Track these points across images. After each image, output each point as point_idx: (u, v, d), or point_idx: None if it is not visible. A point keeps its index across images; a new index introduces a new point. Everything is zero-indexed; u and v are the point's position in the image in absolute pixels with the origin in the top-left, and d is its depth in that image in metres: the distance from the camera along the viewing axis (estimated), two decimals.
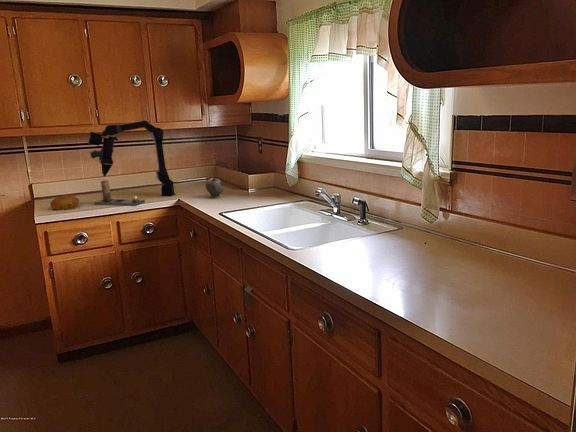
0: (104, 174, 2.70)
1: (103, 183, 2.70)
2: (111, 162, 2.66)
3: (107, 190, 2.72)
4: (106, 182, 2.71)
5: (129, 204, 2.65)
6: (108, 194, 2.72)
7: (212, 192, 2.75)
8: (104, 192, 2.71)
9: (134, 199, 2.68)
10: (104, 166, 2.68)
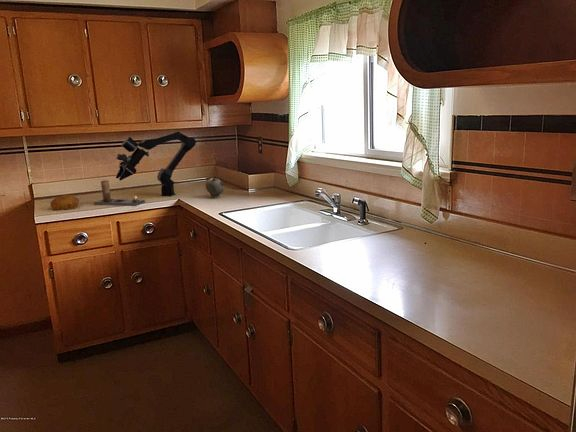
0: (120, 178, 2.71)
1: (103, 183, 2.70)
2: (134, 171, 2.70)
3: (107, 190, 2.72)
4: (106, 182, 2.71)
5: (129, 204, 2.65)
6: (108, 194, 2.72)
7: (212, 192, 2.75)
8: (104, 192, 2.71)
9: (134, 199, 2.68)
10: (125, 171, 2.70)
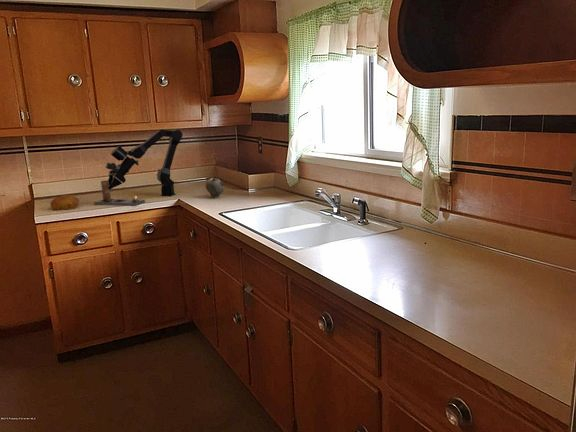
0: (109, 187, 2.69)
1: (103, 183, 2.70)
2: (123, 180, 2.68)
3: (107, 190, 2.72)
4: (106, 182, 2.71)
5: (129, 204, 2.65)
6: (108, 194, 2.72)
7: (212, 192, 2.75)
8: (104, 192, 2.71)
9: (134, 199, 2.68)
10: (114, 181, 2.68)
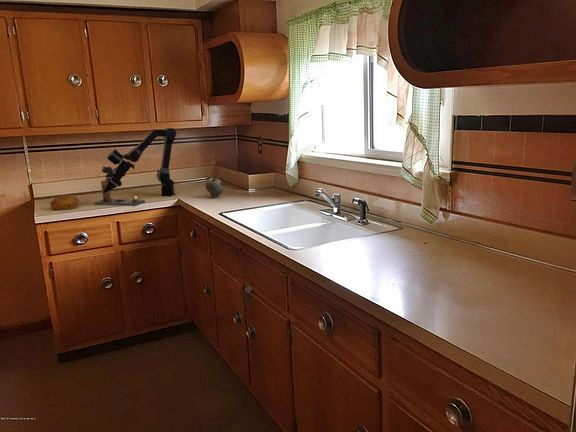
0: (105, 191, 2.70)
1: (103, 183, 2.70)
2: (119, 184, 2.67)
3: None
4: (106, 182, 2.71)
5: (129, 204, 2.65)
6: (108, 194, 2.72)
7: (212, 192, 2.75)
8: None
9: (134, 199, 2.68)
10: (109, 184, 2.70)
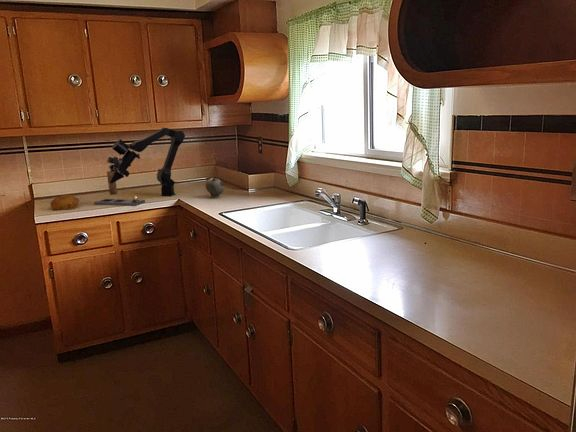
0: (111, 181, 2.68)
1: (109, 174, 2.67)
2: (127, 174, 2.66)
3: None
4: (112, 172, 2.68)
5: (129, 204, 2.65)
6: (114, 185, 2.70)
7: (212, 192, 2.75)
8: (110, 183, 2.69)
9: (134, 199, 2.68)
10: (116, 174, 2.68)
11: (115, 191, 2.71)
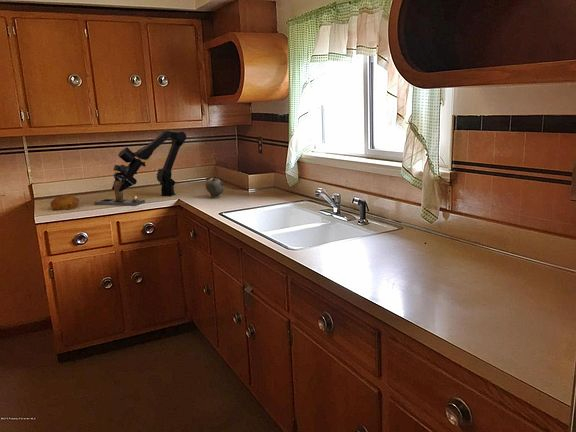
0: (120, 190, 2.66)
1: (116, 183, 2.68)
2: (135, 182, 2.67)
3: None
4: (119, 182, 2.69)
5: (129, 204, 2.65)
6: (121, 194, 2.70)
7: (212, 192, 2.75)
8: (117, 192, 2.69)
9: (134, 199, 2.68)
10: (125, 183, 2.66)
11: (122, 201, 2.71)
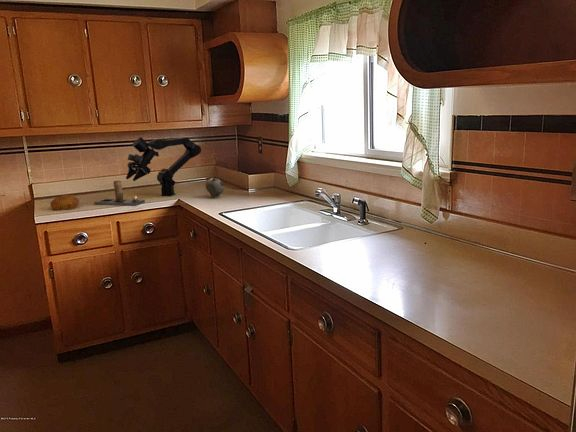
0: (134, 179, 2.71)
1: (116, 183, 2.68)
2: (149, 171, 2.71)
3: (120, 190, 2.70)
4: (119, 182, 2.69)
5: (129, 204, 2.65)
6: (121, 194, 2.70)
7: (212, 192, 2.75)
8: (117, 192, 2.69)
9: (134, 199, 2.68)
10: (139, 172, 2.71)
11: (122, 201, 2.71)
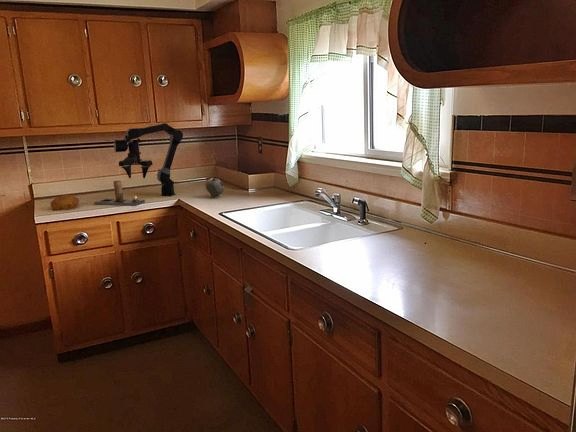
0: (144, 176, 2.79)
1: (116, 183, 2.68)
2: (151, 163, 2.78)
3: (120, 190, 2.70)
4: (119, 182, 2.69)
5: (129, 204, 2.65)
6: (121, 194, 2.70)
7: (212, 192, 2.75)
8: (117, 192, 2.69)
9: (134, 199, 2.68)
10: (144, 169, 2.77)
11: (122, 201, 2.71)
